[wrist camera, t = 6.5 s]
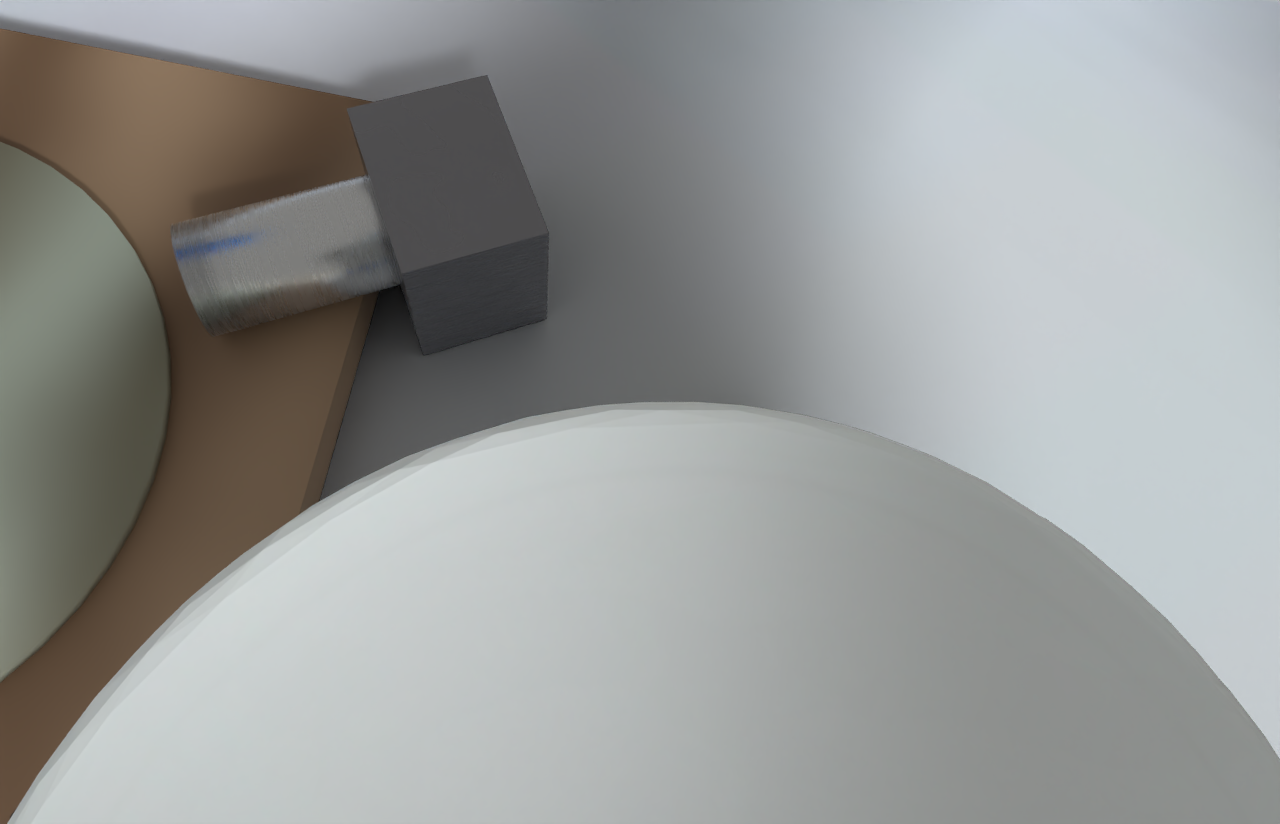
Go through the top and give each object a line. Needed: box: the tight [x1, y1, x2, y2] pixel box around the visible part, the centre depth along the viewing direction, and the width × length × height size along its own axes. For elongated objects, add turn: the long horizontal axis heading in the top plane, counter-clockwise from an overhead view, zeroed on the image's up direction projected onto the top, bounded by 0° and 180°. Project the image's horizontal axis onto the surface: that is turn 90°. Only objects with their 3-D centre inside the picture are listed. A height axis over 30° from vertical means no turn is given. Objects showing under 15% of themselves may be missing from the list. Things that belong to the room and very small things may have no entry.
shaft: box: [170, 75, 549, 355], centre depth 21 cm, size 7×4×4 cm, turn 111°
